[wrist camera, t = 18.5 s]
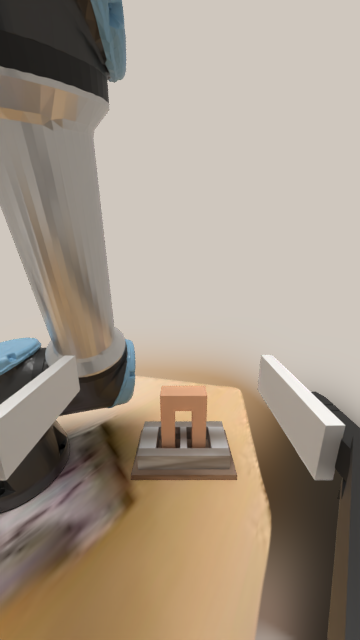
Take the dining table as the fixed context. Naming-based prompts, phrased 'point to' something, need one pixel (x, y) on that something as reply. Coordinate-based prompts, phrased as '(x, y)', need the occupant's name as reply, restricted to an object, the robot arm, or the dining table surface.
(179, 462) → the grey socket block
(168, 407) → the tan arch block
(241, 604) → the dining table surface
